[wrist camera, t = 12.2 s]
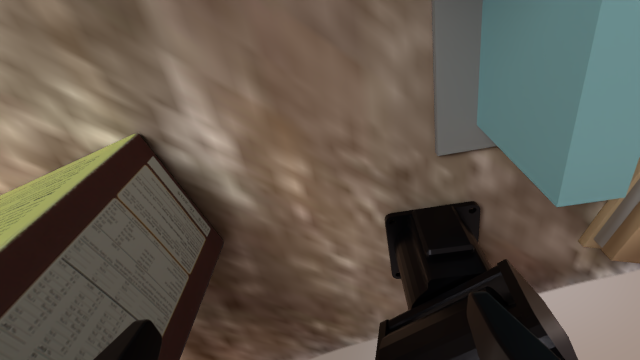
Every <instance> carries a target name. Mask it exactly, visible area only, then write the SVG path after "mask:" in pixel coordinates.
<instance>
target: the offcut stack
mask: <svg viewBox="0 0 640 360" xmlns="http://www.w3.org/2000/svg"><path fill="white" fill-rule="evenodd" d="M578 242H579V243H580V244H581V245H582V246H583V247H591V248H600V249H601V251H602V252H603V253H604V254H605V255H606V256H607V257H608V258H609V259H610V260H613V261H622V262H632V263H640V157H639V160H638V163H637V166H636V169H635V172H634V174H633V177H632V180H631V183H630V186H629V189H628V191H627V194H626V197H625V198H618V199H611V200H608V201H607V202H606V204H605V205H604V206H603V208H602V209H601V210H600V212H599V213H598V215H597V216H596V217H595V219H594V220H593V221H592V223H591V224H590V225H589V227H588V228H587V230H586V231H585V232H584V234H583V235H582V236H581V238H580V239H579V240H578Z"/></svg>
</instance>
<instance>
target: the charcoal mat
mask: <svg viewBox="0 0 640 360" xmlns="http://www.w3.org/2000/svg"><path fill="white" fill-rule="evenodd" d="M482 6H483V0H432V32H433V73H434V114H435V152H436V154H437V156H441V155H447V154H453V153H459V152H465V151H471V150H476V149H482V148H488V147H494V146H497V145H496V144H495V143H494V142H493V141H492V140H491V139H490V138H489V137H488V136H487V135H486V134H485V133H484V132H483V131H482V130H481V129H480V128H479V127H478V126H477V110H478V89H479V68H480V47H481V27H482Z"/></svg>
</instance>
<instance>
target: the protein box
mask: <svg viewBox="0 0 640 360" xmlns="http://www.w3.org/2000/svg"><path fill="white" fill-rule="evenodd" d="M223 244H224V241H223V240H222V238H221V237H220V236H219V235H218V233H217V232H216V231H215V230H214V228H213V227H212V226H211V225H210V223H209V222H208V221H207V220H206V218H205V217H204V216H203V215H202V213H201V212H200V211H199V209H198V208H197V207H196V206H195V204H194V203H193V202H192V201H191V199H190V198H189V197H188V196H187V194H186V193H185V192H184V190H183V189H182V188H181V187H180V186H179V184H178V183H177V182H176V180H175V179H174V178H173V177H172V175H171V174H170V173H169V172H168V170H167V169H166V168H165V167H164V165H163V164H162V163H161V161H160V160H159V159H158V158H157V157H156V155H155V154H154V153H153V151H152V150H151V149H150V148H149V146H148V145H147V144H146V143H145V141H144V140H143V139H142V138H141V136H140V135H139V134H133V135H131V136H128V137H126V138H124V139H122V140H120V141H118V142H116V143H113V144H111V145H109V146H107V147H105V148H103V149H100V150H98V151H96V152H94V153H92V154H90V155H88V156H85V157H83V158H81V159H79V160H77V161H75V162H72V163H70V164H68V165H66V166H64V167H62V168H59V169H57V170H55V171H53V172H51V173H49V174H46V175H44V176H42V177H40V178H38V179H36V180H33V181H31V182H29V183H27V184H25V185H23V186H20V187H18V188H16V189H14V190H12V191H10V192H7V193H5V194H3V195H1V196H0V360H93V359H94V358H95V357H97V356H98V355H99V354H100V353H101V352H102V351H103V350H104V349H105V348H106V347H107V346H108V345H109V344H110V343H111V342H112V341H113V340H115V339H116V338H117V337H118V336H119V335H120V334H121V333H122V332H123V331H124V330H125V329H126V328H127V327H128V326H129V325H130V324H131V323H133V322H134V321H136V320H143V319H149V320H151V321H152V322H153V324H154V325H155V326H156V328H157V329H158V331H159V332H160V333H161V335H162V345H161V350H160V354H159V358H158V360H180V357H181V355H182V352H183V349H184V347H185V344H186V341H187V339H188V336H189V334H190V331H191V328H192V326H193V323H194V320H195V318H196V315H197V312H198V310H199V307H200V304H201V302H202V299H203V297H204V294H205V291H206V289H207V286H208V284H209V281H210V278H211V275H212V273H213V270H214V267H215V265H216V262H217V259H218V257H219V254H220V252H221V249H222V247H223Z"/></svg>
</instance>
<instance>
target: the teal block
mask: <svg viewBox="0 0 640 360" xmlns="http://www.w3.org/2000/svg"><path fill="white" fill-rule="evenodd" d="M477 126H478V127H479V128H480V129H481V130H482V131H483V132H484V133H485V134H486V135H487V136H488V137H489V138H490V139H491V140H492V141H493V142H494V143H495V144H496V145H497V146H498V147H499V148H500V149H501V150H502V151H503V152H504V153H505V154H506V155H507V157H508V158H509V159H510V160H511V161H512V162H513V163H514V164H515V165H516V166H517V167H518V168H519V169H520V170H521V171H522V172H523V173H524V174H525V175H526V176H527V177H528V178H529V179H530V180H531V181H532V182H533V183H534V184H535V185H536V186H537V187H538V188H539V189H540V190H541V192H542V193H543V194H544V195H545V196H546V197H547V198H548V199H549V200H550V201H551V202H552V203H553V204H554V205H555V206H556V207H562V206H569V205H576V204H583V203H590V202H597V201H604V200H611V199H618V198H625V197H626V194H627V191H628V189H629V186H630V183H631V180H632V177H633V174H634V172H635V169H636V166H637V163H638V160H639V157H640V0H483V6H482V27H481V47H480V68H479V89H478V110H477Z"/></svg>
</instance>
